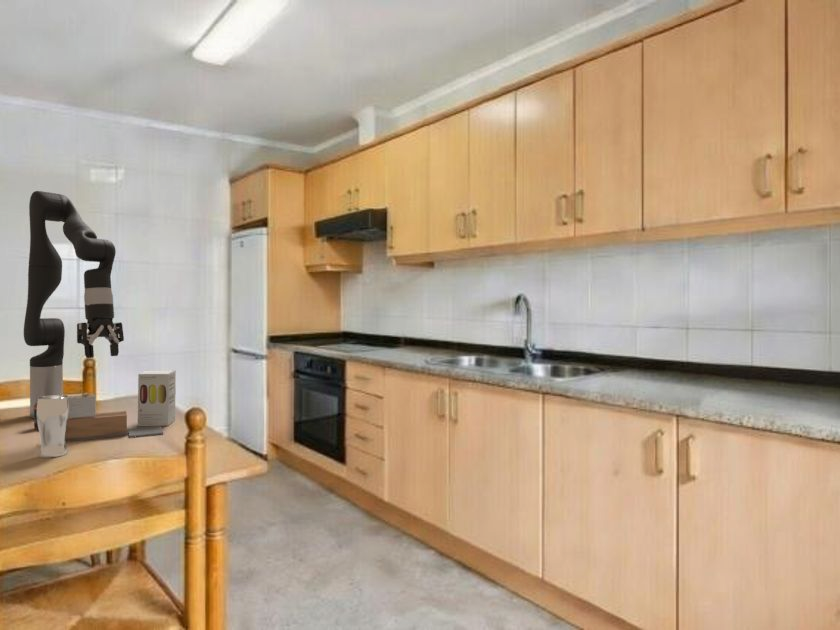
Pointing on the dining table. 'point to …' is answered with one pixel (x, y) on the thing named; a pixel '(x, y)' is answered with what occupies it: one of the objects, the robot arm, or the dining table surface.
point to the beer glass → (53, 424)
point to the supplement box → (156, 397)
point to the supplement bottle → (35, 415)
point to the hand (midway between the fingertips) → (102, 356)
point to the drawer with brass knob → (82, 406)
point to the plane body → (97, 426)
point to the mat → (145, 431)
